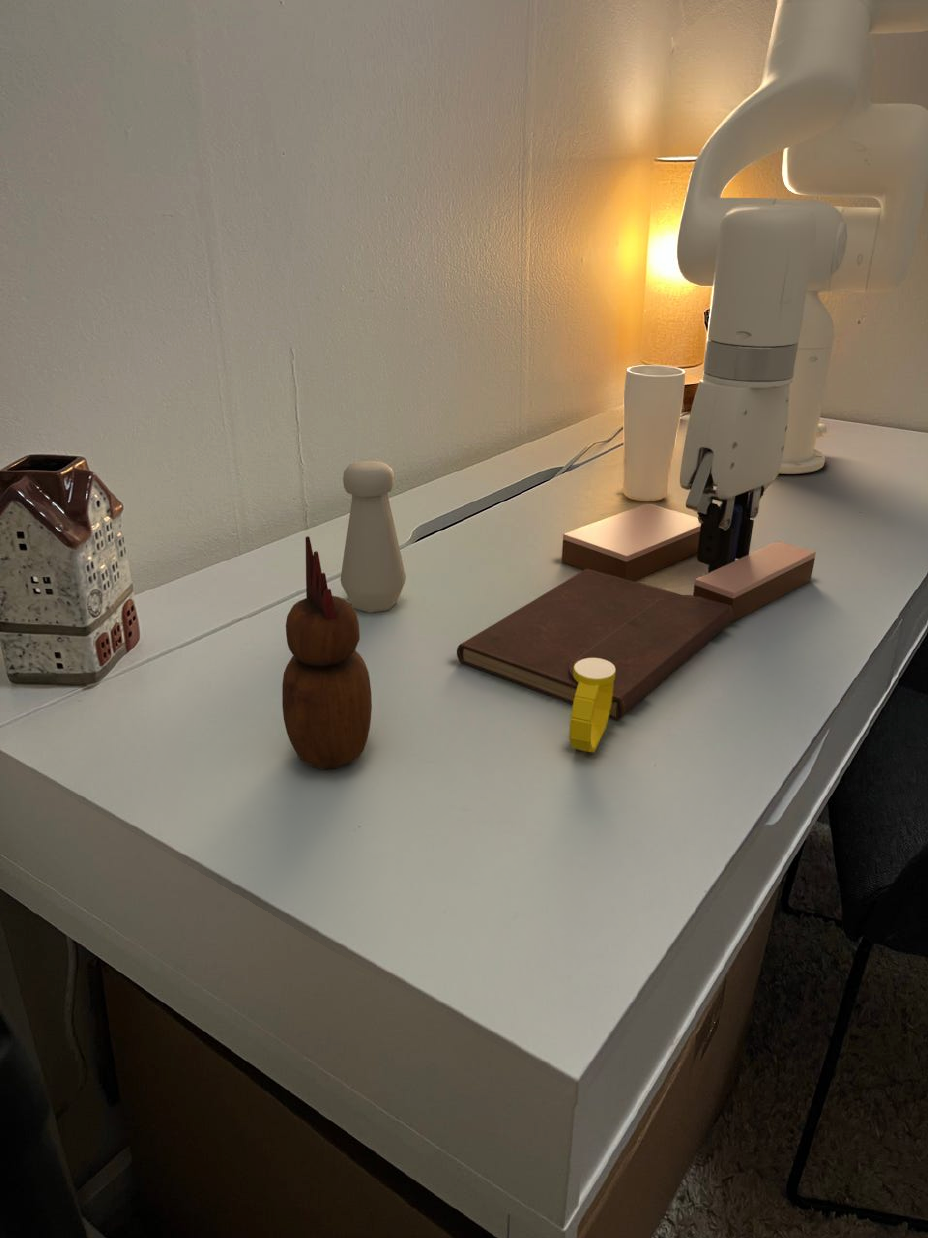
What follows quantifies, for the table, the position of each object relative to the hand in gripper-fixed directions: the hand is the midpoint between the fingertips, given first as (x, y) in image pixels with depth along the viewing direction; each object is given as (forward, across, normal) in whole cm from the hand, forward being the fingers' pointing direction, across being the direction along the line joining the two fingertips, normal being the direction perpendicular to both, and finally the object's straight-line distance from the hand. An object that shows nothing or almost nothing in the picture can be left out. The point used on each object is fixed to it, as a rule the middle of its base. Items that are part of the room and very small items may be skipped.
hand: (722, 558), depth 87 cm
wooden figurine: (+3, +44, -2) cm, 44 cm away
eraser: (+2, 0, 0) cm, 2 cm away
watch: (+3, +30, +9) cm, 32 cm away
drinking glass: (+3, -16, -21) cm, 26 cm away
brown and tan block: (+3, 0, -10) cm, 10 cm away
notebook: (+3, +18, 0) cm, 18 cm away
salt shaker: (+3, +27, -19) cm, 33 cm away
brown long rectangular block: (+3, 0, +4) cm, 4 cm away
